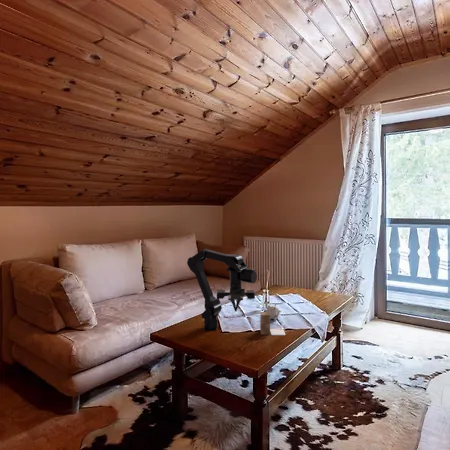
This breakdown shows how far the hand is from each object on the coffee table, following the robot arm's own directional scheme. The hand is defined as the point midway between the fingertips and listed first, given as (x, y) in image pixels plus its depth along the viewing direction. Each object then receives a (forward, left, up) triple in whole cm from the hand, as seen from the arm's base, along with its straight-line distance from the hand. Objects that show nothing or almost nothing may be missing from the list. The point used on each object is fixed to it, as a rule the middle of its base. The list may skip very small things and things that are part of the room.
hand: (235, 311), depth 175 cm
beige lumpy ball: (+21, +22, -12) cm, 33 cm away
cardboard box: (+15, +3, -12) cm, 19 cm away
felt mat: (+21, +3, -12) cm, 25 cm away
